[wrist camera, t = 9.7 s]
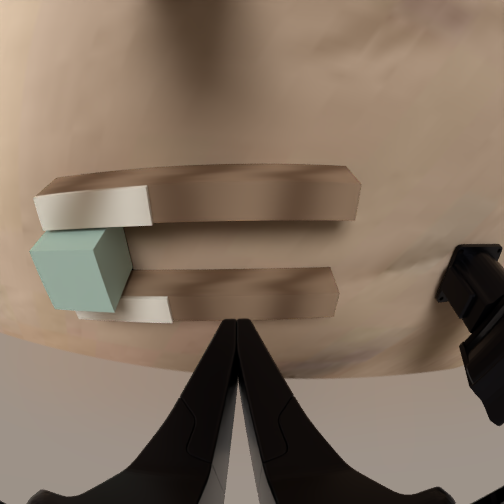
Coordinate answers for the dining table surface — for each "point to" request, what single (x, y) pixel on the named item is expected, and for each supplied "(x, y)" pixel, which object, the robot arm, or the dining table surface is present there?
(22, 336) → the dining table surface
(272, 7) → the dining table surface
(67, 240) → the block
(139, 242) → the dining table surface
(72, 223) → the chute
